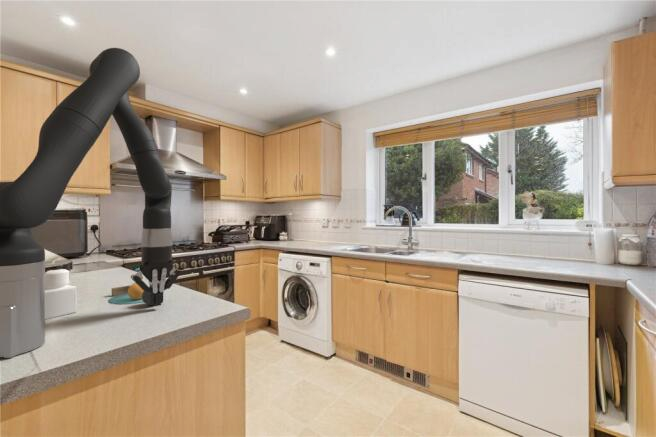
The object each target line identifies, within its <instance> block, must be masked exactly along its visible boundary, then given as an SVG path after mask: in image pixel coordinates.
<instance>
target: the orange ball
mask: <svg viewBox="0 0 656 437" xmlns="http://www.w3.org/2000/svg"><path fill="white" fill-rule="evenodd" d="M130 285H131V286H130ZM130 285H129V286H130V287H129V289H128V295H129V297H130V298H132V299H134V300H140V299H142V293H143V291H144V290H143V289H142V288H140V287H139V286H138V285H137V284H136V283H135V282H134V283H132V284H130Z"/></svg>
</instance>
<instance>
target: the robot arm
mask: <svg viewBox="0 0 656 437" xmlns="http://www.w3.org/2000/svg"><path fill="white" fill-rule="evenodd" d="M88 70H89V74H90V75H89V76H88V77H87V78H86V80H84V81H83V82H82V83H81V84H80V85H79V86H77V87H76V88H75V89H74V90H73V91H72V92H70V93H69V94H68V95H67V96H66V97H65V98H64V99H63V100H62V101H61V102H60V103H59V104H58V105H57V106H56V107H55V108H54V109H53V110H52V112H51V113H50V114H49V116H48V117H47V118H46V119H45V121H44V122H43V123H42V125H41V127H40V129H39V134H38V135H39V136H38V146H37V151H36V154H35V157H34V158H33V160H32V162H31V163H30V164H29V165H28V166H27V167H26V169H25V170H24V171H23V172H22V173H21V174H20V175H19V176H18V177H17V178H16V179H15V180H13V181H0V357H4V358H3V359H11V358H13V357H16V356H17V355H18V356H19V355H21V354H24V353H27V352H31V351H33V350H35V349H37V348H40V347H41V346H43V345H44V344H45V342H46V320H45V270H46V251H45V248H44V246H42V244H41V245H40V244H39V243H38V242H36V241H35V239H34V238H33V235H32V232H31V231H32V230H31V229H32V228H36V227H40V226H42V225H44V223H46V222H47V221H49V219H51V217H52V216H53V214H54V213H55V211H56V209H57V207H58V205H59V203H60V201H61V199H62V197H63V195H64V193H65V191H66V188H67V187H68V185H69V183H70V182H71V181H70V180H72V177H73V176H74V174H75V172H76V171H77V170H78V168H79V167H80V165H81V163H82V162H83V160H84V159H85V157H86V156H87V154H88V153H89V152H90V150H91V149H92V147H93V146H94V145H95V143H96V142H97V140H98V138H100V136H101V135H102V132H103V130H104V129H105V127H106V125H107V124H108V122H109V120H110V119H111V117H113V118H114V120H115V123H116V125H117V126H118V128H119V131H120V134H122V137H123V139H124V142H125V145H126V148H127V150H128V151H127V152H128V153H129V155H130V158H131V161H132V162H133V164H134V167H135V170H136V171H135V172H136V174H137V178H138V180H139V184H140V187H141V188H142V191H143V193H144V209H143V212H142V232H141V265H140V267H139V271H137V272H136V273H135V274H132V275H131V276H130V279H131V280H132V281H133V282H134V283H136V284H137V285H138V286H139V287H140V288H142V289H143V290H144V291H146V292H150V293H151V304H153V305H152V306H154V307H159V306H161V305H162V304H163V302H164V292H165V291H166V290H167V289H171V288H172V286H173V284H174V283H175V281H177V279H178V278H179V276H180V275H181V273H182V271H181V270H180V269H177V268H175V266H174V264H173V233H172V212H171V207H172V206H171V205H172V194H173V193H172V192H173V191H172V190H173V187H172V183H171V181H170V178H169V176H168V174H167V171H166V169H165V166H164V165H163V162H162V157H161V153H160V151H159V148H158V145H157V143H156V140H155V137H154V135H153V133H152V131H151V130H150V128H149V126H147V125H146V123H145V122H144V121H143V120H142V118H141V117H140V116H139V115H138V114H137V113H136V111H135V110H134V108H133V105H132V102H131V100H130V97H129V90H130V89H131V88H132V87H133V86H134V85H135V84H136V83H137V82H138V81H139V79H140V76H141V75H140V74H141V70H140V65H139V63H138V61H137V59H136V57H135V55H133V54H132V53H130V52H129V51H127V50H126V49H124V48H120V47H110V48H106V49H104V50H102V51H101V52H100V53H99V54H98V55H97V56H96V57H95V58H94V59H93V60H92V62H91V63H90V64H89V69H88ZM143 276H144V277H145V279H146V280H148V284H147V283H145V281H144V280H143V279H144V277H143ZM148 285H149V286H148Z"/></svg>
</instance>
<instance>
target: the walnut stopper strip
mask: <svg viewBox="0 0 656 437" xmlns="http://www.w3.org/2000/svg"><path fill="white" fill-rule="evenodd" d="M131 285H132V284H130V285H125V286H118V287H111V297H115V296H118V295H122V294H127V293H128V289H129V287H130V286H131Z"/></svg>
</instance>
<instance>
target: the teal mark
mask: <svg viewBox="0 0 656 437" xmlns="http://www.w3.org/2000/svg"><path fill="white" fill-rule="evenodd" d="M108 303H110V304H113V305H133V304H139V303H140V304H141V303H144V302H143V300H142V299H140V300H134V299H132V298H130V297H129V295H128V293H127V294H122V295H118V296H111V298H109V299H108Z"/></svg>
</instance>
